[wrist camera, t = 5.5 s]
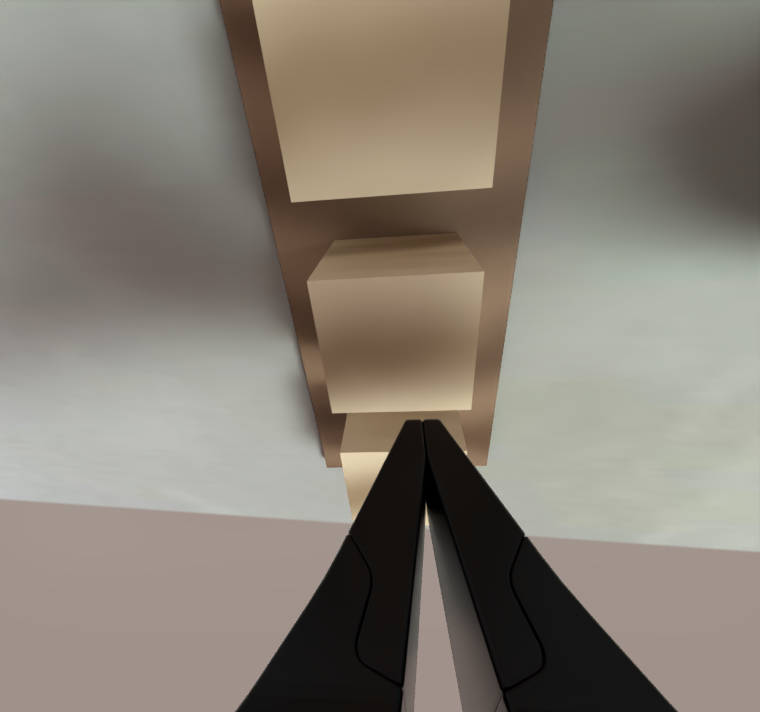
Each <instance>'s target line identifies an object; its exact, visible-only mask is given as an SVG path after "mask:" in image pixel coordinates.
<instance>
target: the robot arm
mask: <svg viewBox="0 0 760 712" xmlns="http://www.w3.org/2000/svg"><path fill="white" fill-rule="evenodd" d="M426 509H427V516H428V522H429V528H430V533H431V538H432V544H433V550H434V555H435V561H436V566H437V572H438V577H439V583H440V588H441V594H442V599H443V604H444V610H445V616H446V622H447V627H448V633H449V638H450V643H451V649H452V654H453V660H454V666H455V671H456V676H457V682H458V688H459V693H460V699H461V705H462V710H463V712H678V711H677V710H676V709H675V708H674V707H673V706H672V705H671V704H670V703H669V702H668V700H667V699H666V698H665V697H664V696H663V695H662V694H661V693H660V692H659V690H658V689H657V688H656V687H655V686H654V685H653V684H652V683H651V681H649V680H648V678H647V677H646V676H645V675H644V674H643V673H642V671H640V669H639V668H638V667H637V666H636V665H635V664H634V663H633V661H632V660H631V659H630V658H629V657H628V656H627V655H626V654H625V652H624V651H623V650H622V649H621V648H620V647H619V646H618V645H617V644H616V643H615V641H614V640H613V639H612V638H611V637H610V636H609V635H608V634H607V632H605V630H604V629H603V628H602V627H601V626H600V625H599V623H598V622H597V621H596V620H595V619H594V618H593V617H592V616H591V615H590V613H589V612H588V611H587V610H586V609H585V608H584V607H583V605H582V604H581V603H580V602H579V601H578V600H577V598H576V597H575V596H574V595H573V594H572V593H571V592H570V590H569V589H568V588H567V587H566V586H565V585H564V583H563V582H562V581H561V580H560V578H559V577H558V576H557V575H556V573H555V572H554V571H553V570H552V568H551V567H550V566H549V564H548V563H547V562H546V561H545V559H544V558H543V557H542V556H541V554H540V553H539V552H538V550H537V549H536V547H535V546H534V545H533V544H532V542H531V541H530V540H529V538H528V537H524V536H525V533H524V532H523V530H522V529H521V528H520V526H519V525H518V524H517V522H516V521H515V520H514V518H513V517H512V516H511V514H510V513H509V512H508V510H507V509H506V508H505V506H504V505H503V504H502V502H501V501H500V500H499V498H498V497H497V495H496V494H495V493H494V491H493V490H492V489H491V487H490V486H489V485H488V483H487V482H486V481H485V479H484V478H483V477H482V475H481V474H480V473H479V471H478V470H477V469H476V467H475V466H474V465H473V463H472V462H471V461H470V459H469V458H468V457H467V455H466V454H465V453H464V451H463V450H462V449H461V447H460V446H459V445H458V443H457V442H456V441H455V439H454V438H453V437H452V435H451V434H450V433H449V431H448V430H447V429H446V427H445V426H444V425H443V423H442V422H441V421H440V420H439V419H424V420H423V422H422V420H420V419H408V420H406V421H405V422H404V424H403V426H402V428H401V430H400V432H399V434H398V436H397V438H396V440H395V442H394V444H393V446H392V448H391V449H390V451H389V453H388V455H387V457H386V459H385V461H384V463H383V465H382V467H381V469H380V471H379V473H378V475H377V477H376V479H375V481H374V483H373V485H372V487H371V489H370V491H369V493H368V495H367V497H366V499H365V501H364V503H363V505H362V507H361V508H360V510H359V512H358V514H357V516H356V518H355V520H354V522H353V524H352V526H351V528H350V530H349V535H347V536H346V538H345V540H344V542H343V543H342V545H341V547H340V550H339V551H338V553H337V555H336V557H335V559H334V561H333V562H332V564H331V566H330V568H329V570H328V572H327V573H326V575H325V577H324V579H323V580H322V582H321V584H320V585H319V587H318V588H317V590H316V592H315V593H314V595H313V597H312V598H311V600H310V601H309V603H308V605H307V606H306V608H305V609H304V611H303V612H302V614H301V615H300V617H299V618H298V620H297V621H296V623H295V624H294V626H293V627H292V629H291V631H290V632H289V633H288V635H287V637H286V638H285V639H284V641H283V643H282V644H281V646H280V647H279V649H278V650H277V652H276V653H275V655H274V656H273V658H272V659H271V661H270V662H269V664H268V665H267V667H266V668H265V670H264V671H263V673H262V674H261V676H260V678H259V679H258V681H257V682H256V683H255V685H254V686H253V688H252V689H251V691H250V692H249V694H248V695H247V696H246V698H245V699H244V700H243V702H242V703H241V705H240V706H239V707H238V709H237V710H236V711H235V712H414V698H415V682H416V666H417V665H416V664H417V650H418V633H419V617H420V601H421V584H422V567H423V552H424V536H425V519H426Z"/></svg>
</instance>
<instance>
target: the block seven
mask: <svg viewBox="0 0 760 712" xmlns="http://www.w3.org/2000/svg"><path fill="white" fill-rule="evenodd" d="M252 2H253V7H254V13H255V18H256V23H257V28H258V33H259V38H260V44H261V49H262V54H263V59H264V64H265V69H266V75H267V80H268V85H269V90H270V95H271V100H272V106H273V111H274V116H275V121H276V126H277V131H278V137H279V142H280V147H281V152H282V157H283V162H284V168H285V173H286V178H287V183H288V188H289V193H290V199H291V202H304V201H318V200H331V199H345V198H359V197H372V196H386V195H399V194H413V193H427V192H440V191H454V190H468V189H481V188H492V186H493V175H494V165H495V154H496V144H497V134H498V123H499V113H500V102H501V92H502V81H503V71H504V60H505V50H506V39H507V29H508V18H509V8H510V0H252Z"/></svg>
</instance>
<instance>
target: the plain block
mask: <svg viewBox="0 0 760 712" xmlns="http://www.w3.org/2000/svg"><path fill="white" fill-rule="evenodd" d="M483 282H484V270H483V269H482V267H481V266H480V264H479V263H478V262H477V260H476V259H475V257H474V256H473V255H472V253H471V252H470V250H469V249H468V248H467V246H466V245H465V243H464V242H463V240H462V239H461V238H460V236H459V235H458V233H443V234H427V235H411V236H396V237H380V238H364V239H349V240H334V242H333V243H332V245H331V246H330V248H329V249H328V251H327V252H326V254H325V255H324V257H323V258H322V260H321V261H320V262H319V264H318V265H317V267H316V268H315V270H314V271H313V273H312V274H311V276H310V277H309V279H308V280H307V285H308V291H309V296H310V301H311V306H312V311H313V316H314V322H315V327H316V332H317V337H318V342H319V347H320V353H321V358H322V363H323V368H324V373H325V378H326V384H327V389H328V394H329V399H330V404H331V410H332V413H364V412H404V411H445V410H471V407H472V397H473V386H474V376H475V365H476V355H477V344H478V334H479V323H480V313H481V303H482V292H483Z"/></svg>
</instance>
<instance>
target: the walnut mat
mask: <svg viewBox="0 0 760 712" xmlns="http://www.w3.org/2000/svg"><path fill="white" fill-rule="evenodd" d="M220 4H221V8H222V13H223V17H224V21H225V26H226V30H227V34H228V39H229V43H230V47H231V52H232V56H233V60H234V65H235V69H236V74H237V78H238V82H239V87H240V91H241V95H242V100H243V104H244V108H245V113H246V117H247V121H248V126H249V130H250V134H251V139H252V143H253V147H254V152H255V156H256V160H257V165H258V169H259V173H260V178H261V182H262V187H263V191H264V195H265V200H266V204H267V208H268V213H269V217H270V221H271V226H272V230H273V234H274V239H275V243H276V247H277V252H278V256H279V260H280V265H281V269H282V273H283V278H284V282H285V286H286V291H287V295H288V300H289V304H290V308H291V313H292V317H293V321H294V326H295V330H296V334H297V339H298V343H299V347H300V352H301V356H302V360H303V365H304V369H305V373H306V378H307V382H308V386H309V391H310V395H311V399H312V404H313V408H314V413H315V417H316V421H317V426H318V430H319V434H320V439H321V443H322V447H323V452H324V456H325V460H326V465H327V468H329V467H343V466H342V461H341V456H340V449H341V444H342V439H343V433H344V428H345V423H346V418H347V413H332V410H331V404H330V399H329V394H328V389H327V384H326V378H325V373H324V368H323V363H322V358H321V353H320V347H319V342H318V337H317V332H316V327H315V322H314V316H313V311H312V306H311V301H310V296H309V291H308V285H307V280H308V279H309V277H310V276H311V274H312V273H313V271H314V270H315V268H316V267H317V265H318V264H319V262H320V261H321V260H322V258H323V257H324V255H325V254H326V252H327V251H328V249H329V248H330V246H331V245H332V243H333V242H334V240H349V239H364V238H380V237H396V236H411V235H427V234H443V233H458V235H459V236H460V238H461V239H462V240H463V242H464V243H465V245H466V246H467V248H468V249H469V250H470V252H471V253H472V255H473V256H474V257H475V259H476V260H477V262H478V263H479V264H480V266H481V267H482V269H483V270H484V282H483V292H482V303H481V313H480V323H479V334H478V344H477V355H476V365H475V376H474V386H473V397H472V407H471V410H458V413H459V417H460V422H461V426H462V430H463V434H464V439H465V443H466V447H467V457H468V458H469V459H470V461H471V462H472V463H473V465H474V466H486V465H487V458H488V451H489V445H490V438H491V431H492V424H493V417H494V410H495V403H496V396H497V389H498V382H499V375H500V368H501V361H502V354H503V347H504V340H505V333H506V326H507V320H508V313H509V306H510V299H511V292H512V285H513V278H514V271H515V264H516V257H517V250H518V243H519V236H520V229H521V222H522V215H523V208H524V202H525V195H526V188H527V181H528V174H529V167H530V160H531V153H532V146H533V139H534V132H535V125H536V118H537V111H538V104H539V97H540V90H541V83H542V77H543V70H544V63H545V56H546V49H547V42H548V35H549V28H550V21H551V14H552V7H553V0H510V8H509V18H508V29H507V39H506V50H505V60H504V71H503V81H502V92H501V102H500V113H499V123H498V134H497V144H496V154H495V165H494V175H493V186H492V188H481V189H468V190H454V191H440V192H427V193H413V194H399V195H386V196H372V197H359V198H345V199H331V200H318V201H304V202H291V199H290V193H289V188H288V183H287V178H286V173H285V168H284V162H283V157H282V152H281V147H280V142H279V137H278V131H277V126H276V121H275V116H274V111H273V106H272V100H271V95H270V90H269V85H268V80H267V75H266V69H265V64H264V59H263V54H262V49H261V44H260V38H259V33H258V28H257V23H256V18H255V13H254V7H253V2H252V0H220Z"/></svg>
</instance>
